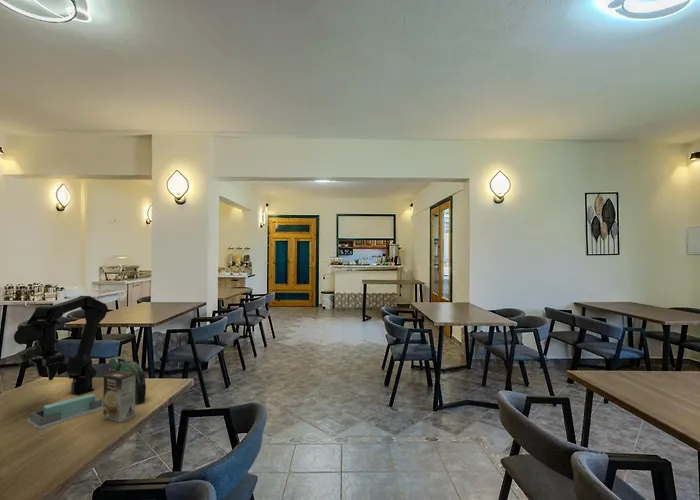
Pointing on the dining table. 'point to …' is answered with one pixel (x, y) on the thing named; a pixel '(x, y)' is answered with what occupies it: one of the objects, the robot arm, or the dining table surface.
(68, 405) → the rail
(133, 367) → the ceramic cat
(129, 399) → the coffee box
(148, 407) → the dining table surface
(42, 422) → the cup bracket
